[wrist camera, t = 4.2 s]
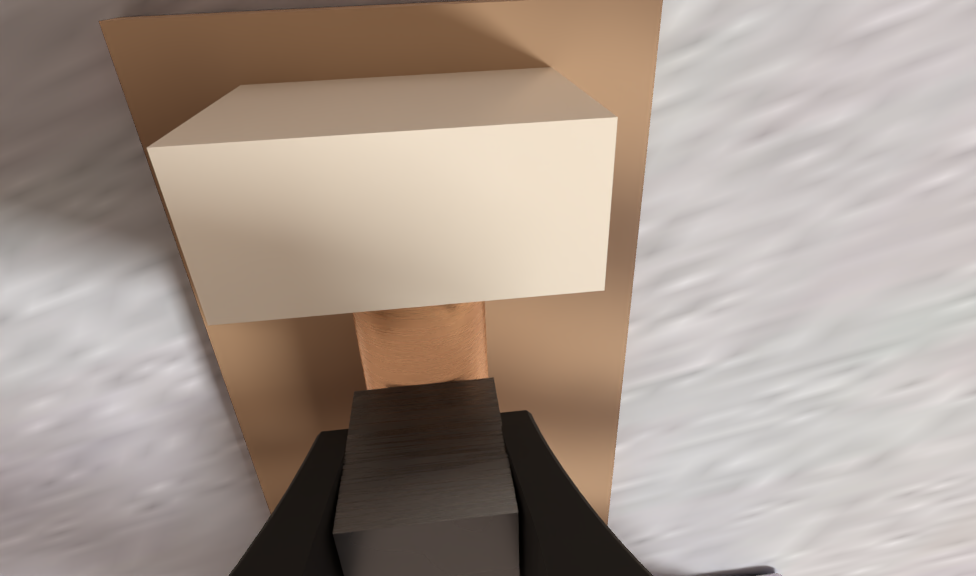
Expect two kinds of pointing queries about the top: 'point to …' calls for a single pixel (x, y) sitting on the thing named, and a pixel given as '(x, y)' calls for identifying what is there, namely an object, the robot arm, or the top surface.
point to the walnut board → (509, 322)
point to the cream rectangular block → (390, 193)
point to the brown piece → (426, 451)
